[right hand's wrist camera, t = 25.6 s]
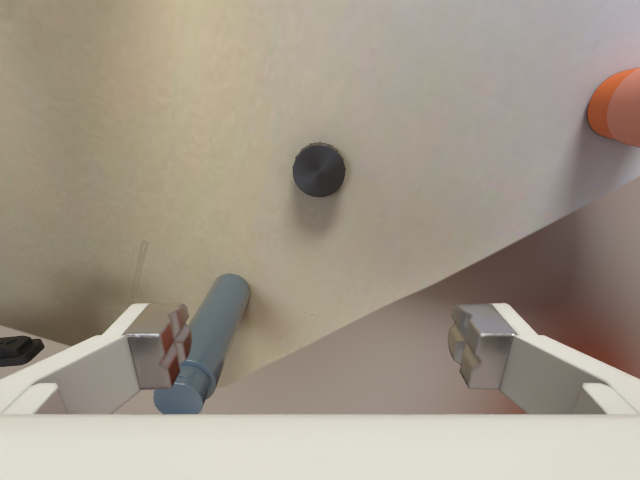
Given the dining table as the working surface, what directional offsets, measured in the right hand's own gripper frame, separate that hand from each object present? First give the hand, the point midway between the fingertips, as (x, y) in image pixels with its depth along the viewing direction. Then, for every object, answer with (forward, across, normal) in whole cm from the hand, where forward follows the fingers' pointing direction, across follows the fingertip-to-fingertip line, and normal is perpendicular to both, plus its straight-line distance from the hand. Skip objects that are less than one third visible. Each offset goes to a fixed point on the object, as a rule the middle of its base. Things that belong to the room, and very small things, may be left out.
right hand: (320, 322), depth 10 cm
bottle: (+28, +11, +15) cm, 33 cm away
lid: (+26, 0, 0) cm, 26 cm away
